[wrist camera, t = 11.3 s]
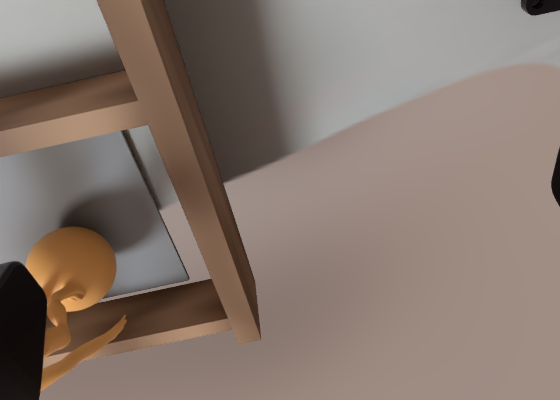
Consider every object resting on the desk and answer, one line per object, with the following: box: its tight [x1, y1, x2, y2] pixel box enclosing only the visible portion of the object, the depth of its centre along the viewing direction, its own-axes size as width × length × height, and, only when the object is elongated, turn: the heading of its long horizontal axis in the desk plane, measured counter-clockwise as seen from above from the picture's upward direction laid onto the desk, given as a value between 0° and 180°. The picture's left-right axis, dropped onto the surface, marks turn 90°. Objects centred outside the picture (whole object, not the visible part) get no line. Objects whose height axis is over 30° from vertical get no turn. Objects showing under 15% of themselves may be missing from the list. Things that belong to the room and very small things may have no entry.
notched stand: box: [0, 0, 261, 368], centre depth 18 cm, size 13×27×4 cm, turn 10°
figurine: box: [25, 227, 127, 392], centre depth 19 cm, size 8×6×12 cm
